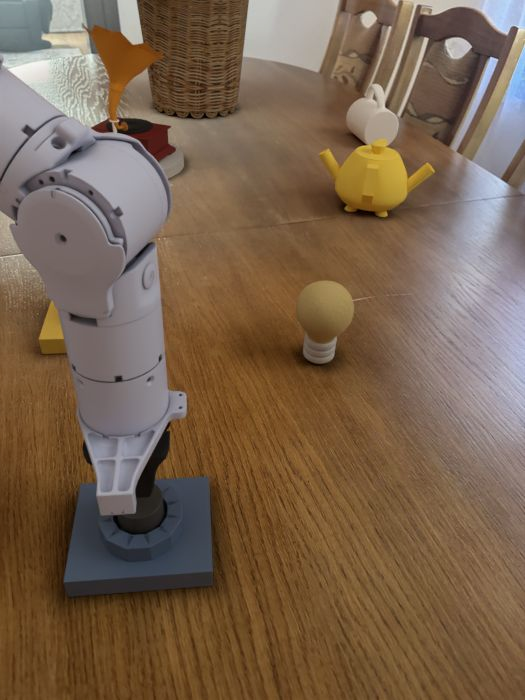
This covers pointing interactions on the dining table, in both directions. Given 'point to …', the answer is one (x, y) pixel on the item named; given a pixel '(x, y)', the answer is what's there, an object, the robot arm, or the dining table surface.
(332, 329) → the light bulb
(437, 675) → the dining table surface
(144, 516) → the button
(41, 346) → the block
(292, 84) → the dining table surface
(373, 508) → the dining table surface
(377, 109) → the mug
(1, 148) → the robot arm
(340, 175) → the teapot
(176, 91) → the wicker basket
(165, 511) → the block
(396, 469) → the dining table surface
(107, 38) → the gramophone
